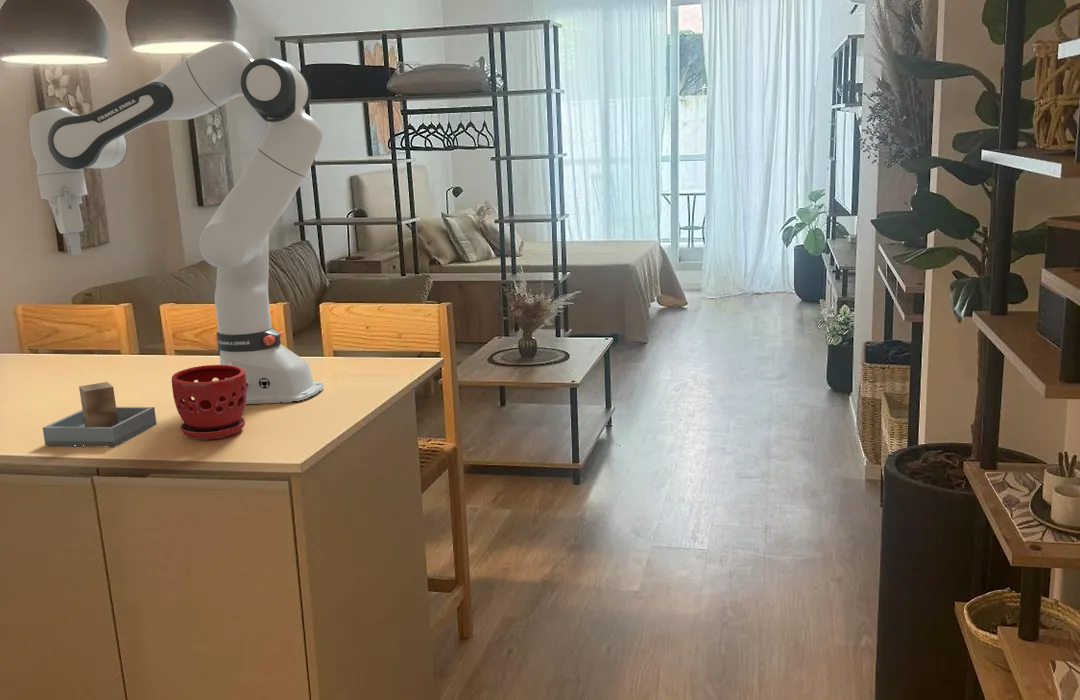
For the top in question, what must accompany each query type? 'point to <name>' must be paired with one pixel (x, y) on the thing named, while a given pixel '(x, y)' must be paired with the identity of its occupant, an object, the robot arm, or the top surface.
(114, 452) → the top surface
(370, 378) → the top surface
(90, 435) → the tray
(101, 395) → the walnut block
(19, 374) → the top surface
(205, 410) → the plant pot
